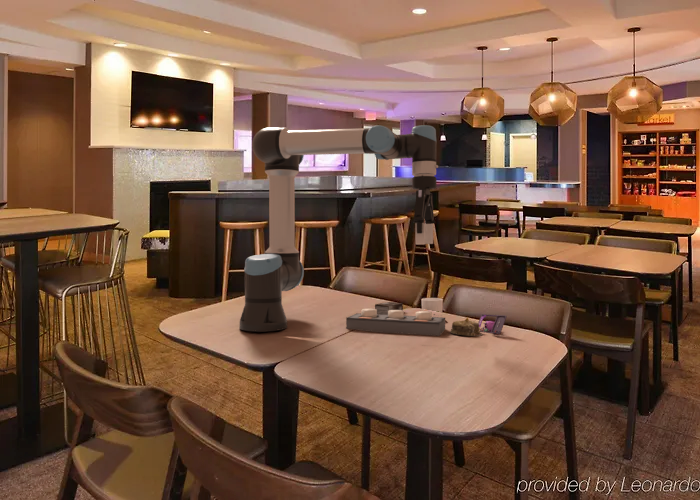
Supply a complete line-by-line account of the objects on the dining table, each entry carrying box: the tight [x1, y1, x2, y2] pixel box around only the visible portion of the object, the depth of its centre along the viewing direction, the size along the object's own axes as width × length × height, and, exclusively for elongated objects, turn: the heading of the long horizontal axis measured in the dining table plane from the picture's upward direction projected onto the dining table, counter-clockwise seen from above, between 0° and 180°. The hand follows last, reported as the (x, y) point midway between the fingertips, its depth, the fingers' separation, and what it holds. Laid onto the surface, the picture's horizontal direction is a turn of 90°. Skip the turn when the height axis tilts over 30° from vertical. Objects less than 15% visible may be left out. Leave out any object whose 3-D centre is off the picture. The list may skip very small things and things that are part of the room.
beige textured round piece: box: [450, 317, 483, 337], centre depth 172 cm, size 10×10×5 cm
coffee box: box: [374, 301, 404, 315], centre depth 198 cm, size 9×6×16 cm
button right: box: [415, 310, 433, 321], centre depth 175 cm, size 5×5×3 cm
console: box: [345, 312, 446, 337], centre depth 178 cm, size 30×11×4 cm, turn 71°
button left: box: [361, 308, 377, 318], centre depth 181 cm, size 5×5×3 cm
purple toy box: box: [477, 313, 508, 335], centre depth 177 cm, size 7×5×9 cm
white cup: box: [421, 297, 444, 313], centre depth 206 cm, size 8×8×10 cm
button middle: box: [388, 310, 405, 320], centre depth 178 cm, size 5×5×3 cm
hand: (424, 244), depth 174 cm, fingers open, 13 cm apart
